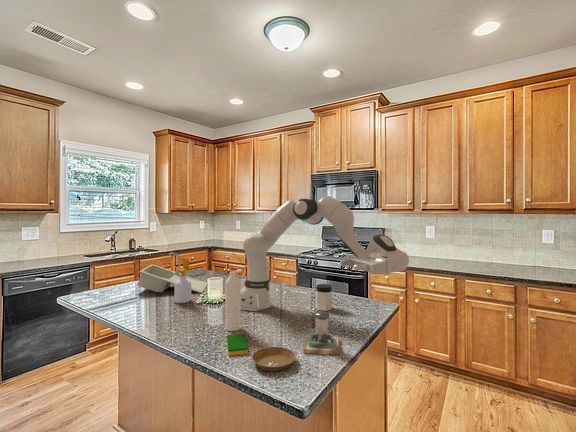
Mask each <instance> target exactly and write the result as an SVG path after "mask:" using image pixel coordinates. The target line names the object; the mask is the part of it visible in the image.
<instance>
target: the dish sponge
mask: <svg viewBox="0 0 576 432" xmlns="http://www.w3.org/2000/svg"><path fill="white" fill-rule="evenodd" d="M226 348H227V356H229V355H230V356H236V355H238V356H239V355H248V353H249V347H248V342H247V339H246V334H245V333H238V334H235V333H234V334H226Z"/></svg>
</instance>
